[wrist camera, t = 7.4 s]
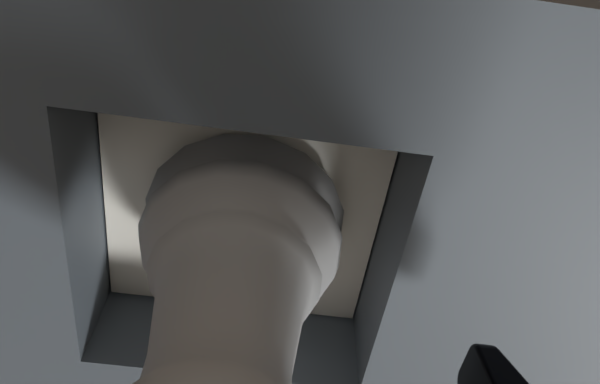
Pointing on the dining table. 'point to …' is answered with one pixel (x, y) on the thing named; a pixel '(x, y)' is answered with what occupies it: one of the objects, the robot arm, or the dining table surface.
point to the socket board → (329, 157)
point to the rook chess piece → (235, 259)
